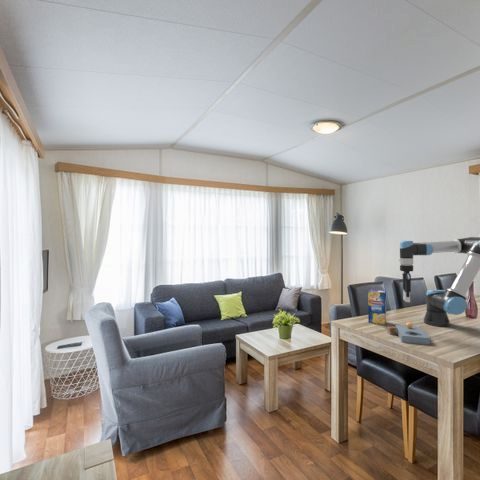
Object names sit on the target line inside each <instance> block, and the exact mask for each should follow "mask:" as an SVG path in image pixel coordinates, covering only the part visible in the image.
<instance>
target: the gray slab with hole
mask: <svg viewBox="0 0 480 480" xmlns="http://www.w3.org/2000/svg"><path fill="white" fill-rule="evenodd" d="M394 327H396V328H397V336H398V338H399V339H400V342H401V343H410V344H419V345H431V337H430V336H429V335H428V334H427V333H426V332H425V330H424V329H423V328H422V327H421V326H417V325H415V326H414V325H413V327H412V328H408V327H407V326H406V325H404V324H403V325H399V324H395V326H394Z"/></svg>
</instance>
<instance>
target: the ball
mask: <svg viewBox="0 0 480 480" xmlns="http://www.w3.org/2000/svg"><path fill="white" fill-rule="evenodd" d="M405 326H407V327H408V328H412V327H413V326H414V325H413V323H412V322H406V324H405Z"/></svg>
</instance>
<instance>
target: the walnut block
mask: <svg viewBox="0 0 480 480" xmlns="http://www.w3.org/2000/svg"><path fill="white" fill-rule="evenodd" d="M386 329H387V330H386V332H387V333H388V334H389V335H392V336H393V335H394V336H395V335H397V336H398V334H397V328H396V327H395V326H393V325H391V326H387V327H386Z"/></svg>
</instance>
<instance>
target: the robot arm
mask: <svg viewBox="0 0 480 480" xmlns="http://www.w3.org/2000/svg"><path fill="white" fill-rule="evenodd" d="M438 253H439V254H440V253H442V254H443V253H455V254H466V255H467V257H466V259H465V261H464V263H463V265H462V267H461V268H460V270H459V272H458V274H457V275H456V277H455V279H454V280H453V283H452V285H451V287H449V288H446V290H445V289H427V290H426V294H425V296H426V311H425V314H424V317H423V323H425V324H426V325H429V326H432V327H433V326H434V327H449V326H450V325H451V321H450V319H449V316H448V314H449V315H453V316H455V315H456V316H457V315H462V314H463V313H464V312H465V311H466V310H467V307H468V305H467V301H466V300H467V296H466V295H467V292H468V291H469V290H470V288H471V286H472V285H473V284H472V283H473V282H474V280H475V278H476V277H477V275H478V274H479V272H480V236H472V237H471V236H470V237H469V236H468V237H464V238H454V239H452V240H445V241H428V242H427V241H426V242H424V241H423V242H414V241H413V240H401V241H400V242H399V259H398V262H399V264H400V265H399V271H401V272H403V273H402V289H403V294H402V297H403V298H402V299H403V301H405V303H411V291H412V290H411V289H412V284H411V283H412V282H411V281H412V276H411V274H410V272H414V256H430V255H432V254H438Z"/></svg>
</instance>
